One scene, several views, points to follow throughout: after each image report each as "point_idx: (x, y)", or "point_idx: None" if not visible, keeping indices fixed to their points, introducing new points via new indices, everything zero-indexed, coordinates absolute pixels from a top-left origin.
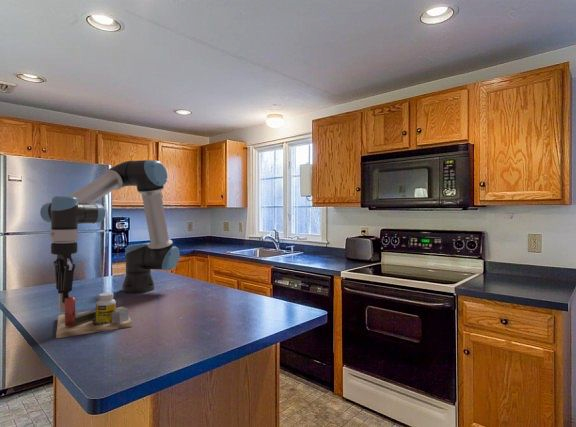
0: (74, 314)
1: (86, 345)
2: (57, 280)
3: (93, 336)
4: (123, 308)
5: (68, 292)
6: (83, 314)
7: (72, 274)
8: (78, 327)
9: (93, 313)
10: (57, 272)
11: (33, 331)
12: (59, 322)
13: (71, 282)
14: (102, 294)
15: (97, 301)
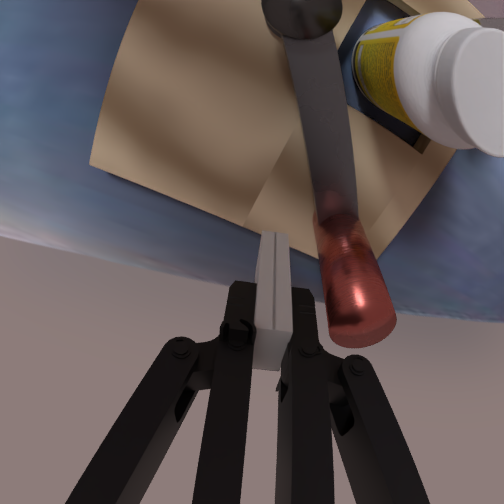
0: (367, 239)
1: (489, 247)
2: (172, 437)
3: (461, 191)
4: (500, 29)
5: (291, 332)
6: (332, 158)
7: (422, 502)
8: (380, 202)
9: (345, 98)
10: (139, 497)
11: (199, 271)
12: (220, 209)
13: (396, 433)
14: (493, 119)
15: (436, 130)
